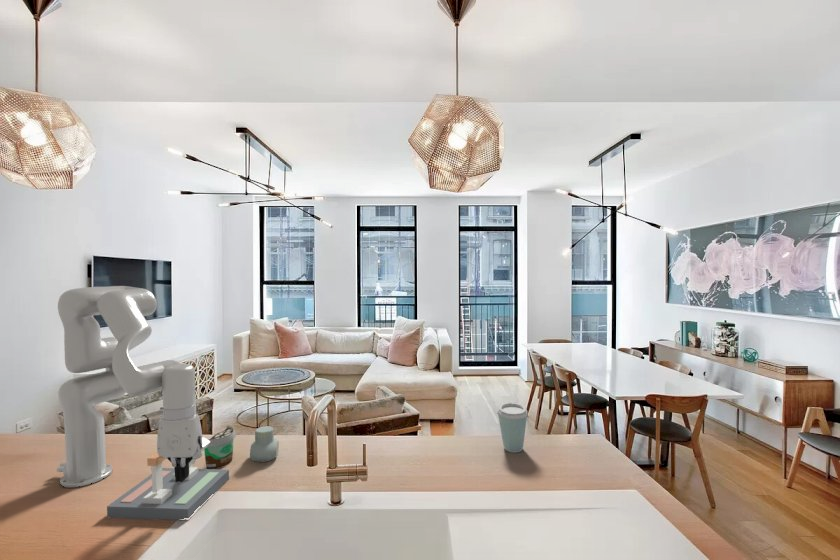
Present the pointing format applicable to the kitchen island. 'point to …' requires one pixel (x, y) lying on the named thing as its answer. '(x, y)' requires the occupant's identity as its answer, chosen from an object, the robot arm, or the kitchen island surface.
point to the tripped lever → (156, 471)
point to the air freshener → (264, 445)
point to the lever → (205, 444)
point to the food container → (220, 449)
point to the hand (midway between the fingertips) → (182, 479)
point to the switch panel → (169, 503)
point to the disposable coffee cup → (512, 425)
